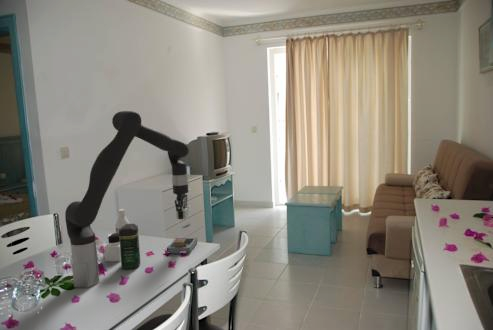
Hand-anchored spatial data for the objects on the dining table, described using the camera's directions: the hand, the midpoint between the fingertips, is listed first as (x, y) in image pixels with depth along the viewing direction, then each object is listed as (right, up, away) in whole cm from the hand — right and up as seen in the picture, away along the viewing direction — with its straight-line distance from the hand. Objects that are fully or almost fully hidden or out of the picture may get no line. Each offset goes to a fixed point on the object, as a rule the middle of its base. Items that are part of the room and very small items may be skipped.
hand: (182, 217), depth 197 cm
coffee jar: (-19, -19, -20) cm, 34 cm away
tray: (0, -15, -1) cm, 15 cm away
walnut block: (0, -15, -4) cm, 16 cm away
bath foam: (-30, -16, +3) cm, 34 cm away
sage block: (0, 0, 0) cm, 0 cm away
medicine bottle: (-29, -18, -11) cm, 36 cm away
